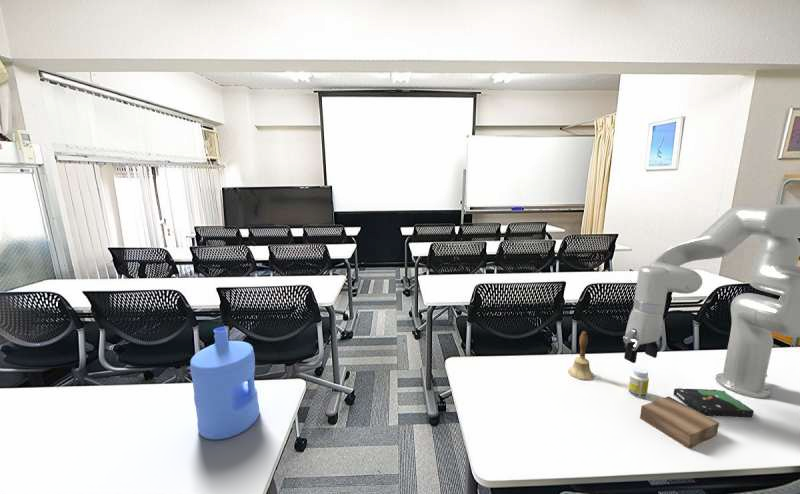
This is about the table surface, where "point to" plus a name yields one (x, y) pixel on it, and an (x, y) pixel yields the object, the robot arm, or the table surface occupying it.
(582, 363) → the hand bell
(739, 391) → the robot arm
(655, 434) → the table surface
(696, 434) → the walnut base block
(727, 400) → the disk drive
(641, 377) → the supplement bottle
